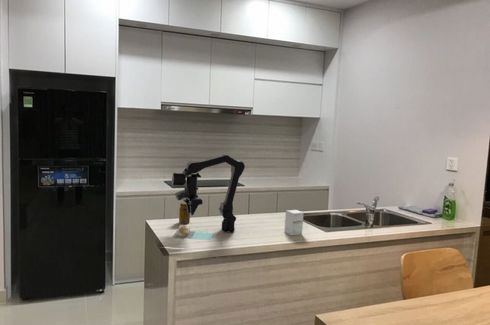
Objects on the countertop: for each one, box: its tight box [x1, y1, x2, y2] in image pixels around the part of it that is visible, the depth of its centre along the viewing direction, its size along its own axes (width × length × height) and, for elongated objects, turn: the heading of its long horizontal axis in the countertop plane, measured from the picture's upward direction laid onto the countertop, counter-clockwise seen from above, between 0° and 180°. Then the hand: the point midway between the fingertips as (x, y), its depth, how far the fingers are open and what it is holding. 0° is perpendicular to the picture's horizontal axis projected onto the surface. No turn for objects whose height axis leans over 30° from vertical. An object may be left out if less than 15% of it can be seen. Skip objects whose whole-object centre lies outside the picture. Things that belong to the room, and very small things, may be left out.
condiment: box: [176, 202, 193, 225], centre depth 224 cm, size 7×8×12 cm
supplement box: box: [284, 209, 304, 237], centre depth 217 cm, size 7×7×13 cm
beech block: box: [177, 224, 191, 236], centre depth 203 cm, size 5×5×4 cm
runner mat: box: [171, 230, 215, 241], centre depth 203 cm, size 20×12×1 cm, turn 87°
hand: (190, 214), depth 208 cm, fingers open, 4 cm apart
